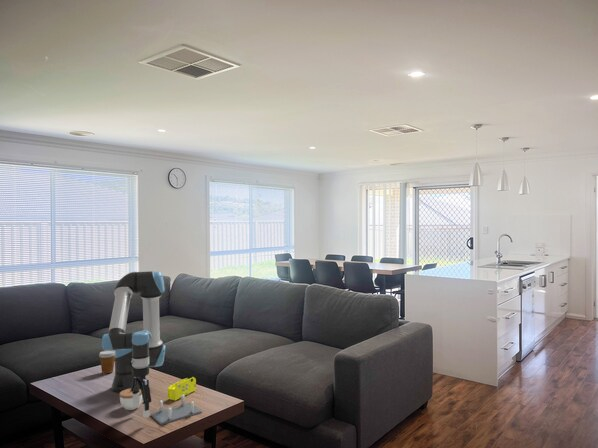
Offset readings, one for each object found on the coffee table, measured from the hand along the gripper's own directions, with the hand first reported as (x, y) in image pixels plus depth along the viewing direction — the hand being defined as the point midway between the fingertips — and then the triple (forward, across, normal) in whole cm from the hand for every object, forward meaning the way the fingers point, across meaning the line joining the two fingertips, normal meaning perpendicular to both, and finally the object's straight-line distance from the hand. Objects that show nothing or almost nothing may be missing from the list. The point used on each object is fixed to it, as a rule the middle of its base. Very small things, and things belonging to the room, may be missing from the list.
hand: (141, 412), depth 207 cm
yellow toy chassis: (+4, -16, +27) cm, 32 cm away
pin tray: (+4, +5, +15) cm, 16 cm away
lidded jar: (+4, -17, +1) cm, 18 cm away
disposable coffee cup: (+3, -80, +7) cm, 81 cm away
